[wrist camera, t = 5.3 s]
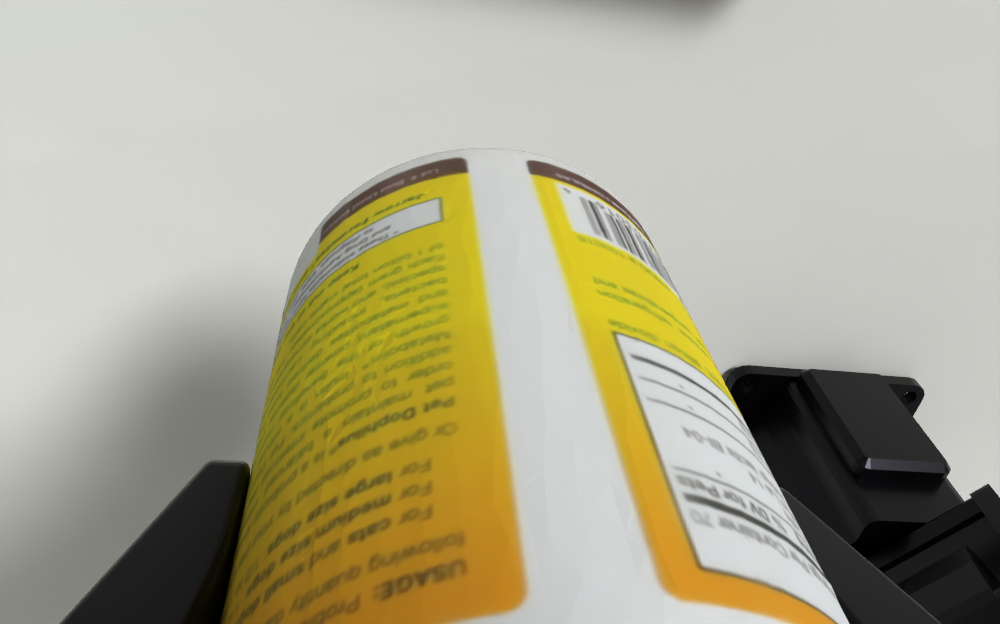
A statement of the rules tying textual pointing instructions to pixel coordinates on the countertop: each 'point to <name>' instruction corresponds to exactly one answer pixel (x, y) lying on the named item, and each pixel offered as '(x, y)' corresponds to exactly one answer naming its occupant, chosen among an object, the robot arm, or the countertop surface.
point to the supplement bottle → (505, 423)
